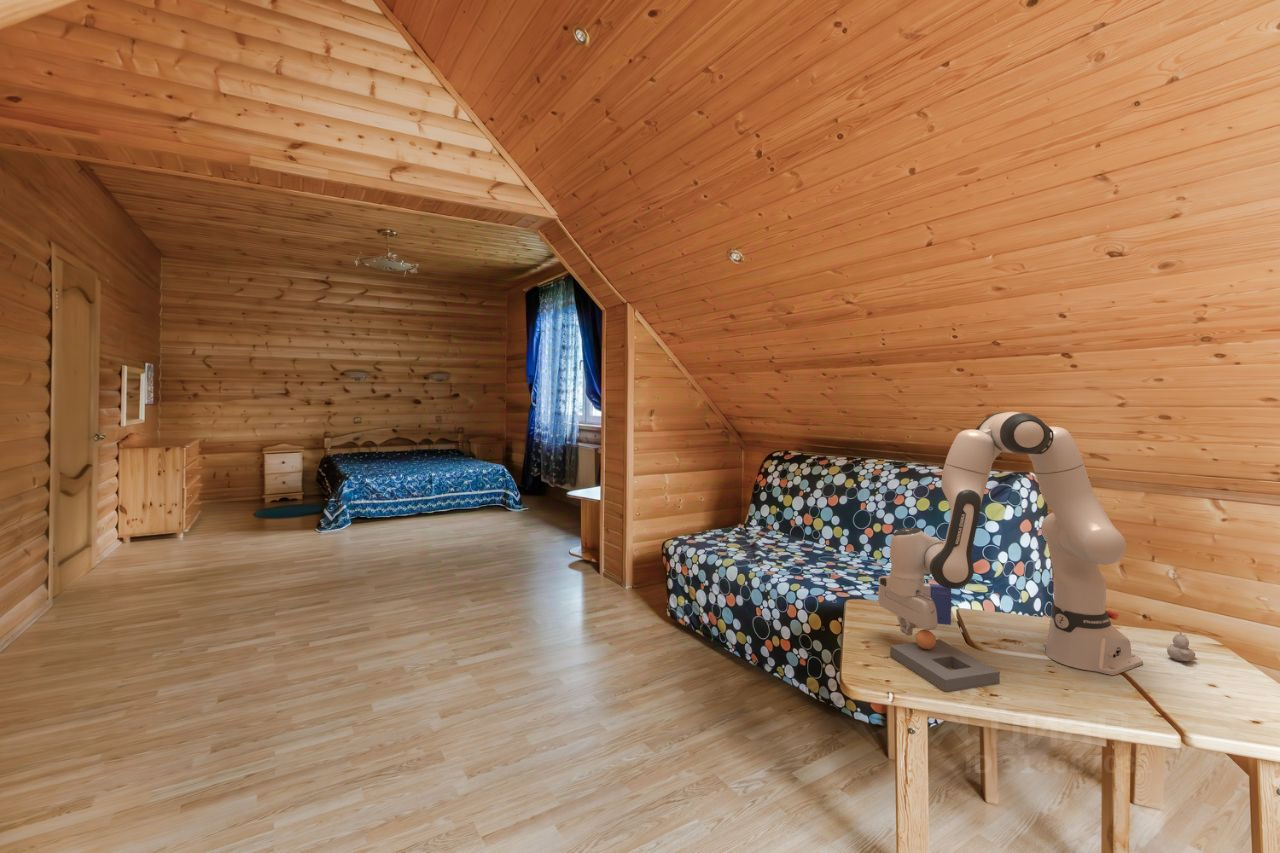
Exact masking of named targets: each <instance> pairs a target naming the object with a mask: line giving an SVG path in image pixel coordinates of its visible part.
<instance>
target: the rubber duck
mask: <svg viewBox="0 0 1280 853" xmlns="http://www.w3.org/2000/svg"><path fill="white" fill-rule="evenodd" d="M1189 646H1190V641H1189V639H1188V637H1187V635H1185V634H1184V635H1183V633H1182V631H1181V630H1179V634H1178V633H1177V634H1175V636H1173V638H1172V644H1170V645H1169V646H1168V647H1167V648H1166V652H1167V655H1168V656H1169V657H1170V658H1172V659H1173V660H1175V661H1178V662H1184V663H1185V662H1190V661H1194V660H1195V658H1196V653H1195V651H1194V650H1192V649H1191V648H1190V647H1189Z"/></svg>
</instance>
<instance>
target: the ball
mask: <svg viewBox="0 0 1280 853" xmlns="http://www.w3.org/2000/svg"><path fill="white" fill-rule="evenodd" d="M936 640H937V639H936V636H935V634H934V633H933V632H932V631H931V630H924V629H921V630H919V631H918V632H916V634H915V642H917V644H918V645H919V646H920V647H921V648H923V649H931V648H933V647H934V646H935V644H936Z"/></svg>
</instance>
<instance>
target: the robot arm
mask: <svg viewBox="0 0 1280 853" xmlns="http://www.w3.org/2000/svg"><path fill="white" fill-rule="evenodd" d="M1001 453H1007V454H1008V453H1010V454H1018V455H1027V456H1028V457H1029V460H1030V461H1031V465H1032V467H1033V471H1034V475H1035V478H1036V481H1037V483H1038V488H1039V490H1040V493H1041V496H1042V498H1043V501H1044V502H1045V504H1046V505H1047V506H1048V507H1049V508H1050V510H1051V511H1052V512H1050V513H1049V514H1048V515H1046V516H1045V517H1044V518H1043V520H1042V522H1041V527H1040V528H1041V529H1040V530H1041V533H1042V535H1043V537H1044V539H1045V541H1046V544H1047V548H1048V553H1049V557H1050V561H1051V566H1052V572H1053V602H1052V603H1051V609H1050V610H1051V617H1052V618H1051V619H1050V620H1049V625H1048V634H1047V638H1046V639H1047V640H1046V641H1044V644H1043V646H1044V647H1045V651H1044V652H1045V655H1046V656H1047V657H1048V658H1050V659H1052V660H1053V661H1055V662H1057V663H1060V664H1062V665H1064V666H1068V667H1070V668H1071V667H1072V668H1075V669H1079V670H1084V671H1090V672H1097V673H1102V674H1106V675H1110V676H1116V675H1119V674H1121V673H1123V672H1126V671H1128V670H1130V669H1134V668H1137V667H1139V666H1142V665H1143V664H1144V662H1143V659H1141V657H1139V656H1138V655H1136V654H1134V653H1132V645H1131V641H1130V639H1129V638H1128V637H1127V636H1126V635H1124V634H1123V633H1122V632H1121V631H1119V630H1118V629H1117V628H1116V627H1114V626H1113V625H1112V623H1111V619H1112V620H1113V621H1117V620H1118V618H1119V616H1120V615H1119V614H1120V613H1118V612H1117V611H1112V610H1110V609H1109V610H1106V608H1107V607H1106V606H1107V605H1106V601H1107V583H1106V580H1105V577H1104V576H1103V575H1102V571H1101V570H1100V567H1099V565H1105V566H1107V565H1112V564H1115V563H1118V562H1120V560H1121V559H1123V558H1124V556H1125V554H1126V553H1127V552H1126V551H1127V542H1126V538H1125V537H1124V535H1122V534H1121V532H1120V531H1119V530H1118V529H1117V528H1116V527H1115V525H1114V524H1113V523H1112V521H1111V520H1110V518H1109V516H1108V515H1107V513H1106V511H1105V510H1104V508H1103V506H1102V504H1101V502H1100V501H1099V499H1098V497H1097V496H1096V494H1095V492H1094V489H1093V487H1092V484H1091V480H1090V478H1089V474H1088V471H1087V469H1086V464H1085V463H1084V459H1083V457H1082V454H1081V452H1080V449H1079V448H1078V446H1077V444H1076V442H1075V440H1074V438H1073V437H1072V435H1071V433H1070V432H1069V431H1068V430H1067V429H1066V428H1065V427H1064V428H1063V427H1060V426H1048V425H1047V424H1045V422H1044V421H1043V420H1042V419H1040V418H1039V417H1037V416H1036V415H1034V414H1031V413H1027V412H1019V411H1007V412H1005V411H1004V412H1002V411H1001V412H996V413H992V414H990V415H988V416H987V417H986V418H985V419H984V420H982V422H980V424H979V425H978V426H977V427H975V429H971V428H970V429H969V428H968V429H964V430H962V431H960V432H959V433H957V434H956V436H955V438H954V440H953V442H952V443H951V446H950V448H949V450H948V453H947V456H946V458H945V461H944V464H943V465H944V466H943V469H942V472H941V484H940V485H941V486H940V487H941V490H942V492H943V494H944V496H945V499H946V500H947V503H948V505H949V509H950V510H949V512H950V517H949V524H948V527H947V531H946V536H945V540H942V539H938V538H935V537H933V536H931V535H930V534H929V535H928V534H927V533H925V532H924V531H922V529H920V528H916V527H905V528H900V529H898V530H896V531H894V533H893V534H892V537H891V539H890V548H889V560H890V564H891V567H890V570H889V575H883V576H879V577H878V578H877V580H878V584H879V586H878V589H877V590H878V596H877V597H878V598H877V599H878V604H879V606H880V608H883V609H885V610H887V611H889V613H893V614H894V615H895V616H897V617H896V618H897V621H898V624H899V626H900V627H899V629H900V632H902V633H903V634H904V635H906V636H912V635H913V633H914V632H913V630H914V628H915V626H917V628H920V629H921V630H928V631H933V630H936V629H937V627H938V623H937V612H936V607H935V604H934V601H933V600H932V599H931V597H930V596H929V595H927V594H924V583H925V575H926V574H928V575H931V576H932V579H933V580H934V581H935V582H936V583H937V585H941V586H943V587H945V588H949V589H951V590H955V589H961V588H963V587H965V586H967V585H968V584H969V583H970V582H971V581H972V579H973V577H974V572H975V569H974V567H975V566H974V562H973V554H972V553H973V546H974V542H975V536H976V533H977V528H978V524H979V518H980V513H981V507H982V502H983V498H984V494H985V491H986V487H987V485H988V481H989V478H990V474H991V471H992V466H993V463H994V461H995V460H996V458H997V457H998V456H999V455H1000V454H1001Z"/></svg>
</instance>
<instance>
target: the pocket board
mask: <svg viewBox="0 0 1280 853" xmlns="http://www.w3.org/2000/svg"><path fill="white" fill-rule="evenodd" d="M889 649H890V650H889V651H890V654H889V657H890V658H892V659H894V660H895V661H896V662H898V663H900V664H901V665H903V666H904V667H906V668H907V669H908V670H910V671H912V672H913V673H915V674H916V675H918V676H919V677H921V678H922V679H924V680H926V681H927V682H929V683H931V684H932V685H934V686H935V687H937V688H938V689H940V690H941V691H943V693H944V692H945V693H949V692H954V691H959V690H967V689H973V688H978V687H985V686H991V685H998V684H1000V681H1001V680H1000V677H1001V674H1000V671H999V670H998V669H995V668H994V667H992V666H991V665H989V664H986V663H985V662H983V661H981V660H978V659H977V658H976V657H974V656H971V655H970V654H968V653H966V652H964V651H962V650H960V649H959V648H957V647H955V646H953V645H952V644H949V643H947V642H945V641H944V640H942V639H940V638H938V639H936V644H935V646H934V647H933V648H931V649H923V648H921V647H920V646H919V645H918V644H917V642H916V641H915V642H907V643H902V644H901V643H900V644H895V645H894V644H893V645H890V648H889ZM949 668H952V669H951V670H950V669H949Z"/></svg>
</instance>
